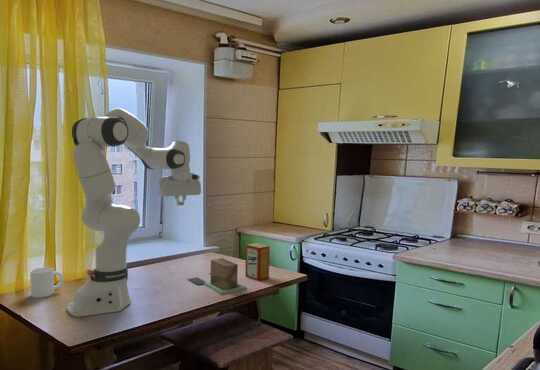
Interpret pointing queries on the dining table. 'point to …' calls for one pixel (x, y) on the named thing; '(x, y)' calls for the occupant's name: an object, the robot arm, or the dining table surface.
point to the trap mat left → (197, 281)
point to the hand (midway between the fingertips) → (180, 205)
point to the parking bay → (240, 287)
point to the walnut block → (224, 274)
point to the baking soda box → (257, 261)
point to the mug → (43, 282)
